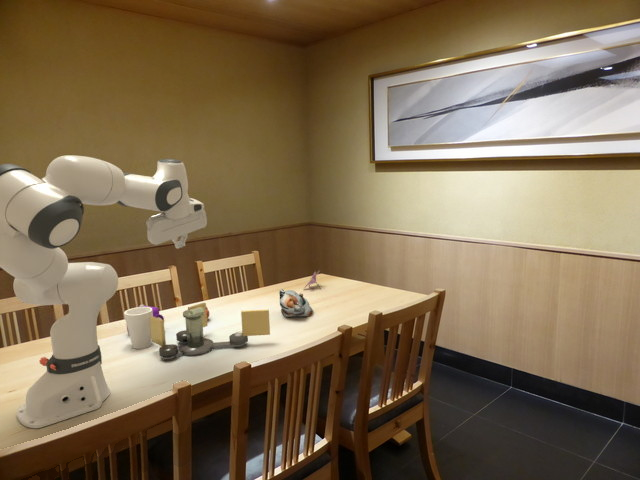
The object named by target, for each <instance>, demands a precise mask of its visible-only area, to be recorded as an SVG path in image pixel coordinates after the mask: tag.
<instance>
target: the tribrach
mask: <svg viewBox="0 0 640 480" xmlns="http://www.w3.org/2000/svg"><path fill="white" fill-rule="evenodd" d="M206 307H207V303H206V302H201V303H198V304H194V305H192V306H188V307H187V309H186V310H184V311H183V312H182V317H183V318H185V328H186V329H185V330H181V331H178V332H176V334H175V336H176V337H175V338H176V341H177V342H178V344H167V341H166V331H165V319H164V320H161V319H159V318H156V317H153V316H152V317H149V318H150V329H151V343H153V344H155V345H158V346H159V349H158V352H159V357H161V359H162V360H163V361H165V362H170V361H173V360H175V359H177V358H180V357H182V356H183V357H184V356H186V357H198V356H202V354H203V355H206V354H208V353H210V352H211V351H213V350H222V349H223V348H224V349H241V348H244V347H245V346H246V343H245V344H241V345H233V344H230V340H229V341H217V342H214V341H213V340H212V339H211V338H206V337H204V328H205V327H208V319H207V312H206ZM212 349H213V350H212ZM224 349H223V350H224ZM209 351H210V352H209ZM205 353H206V354H205Z"/></svg>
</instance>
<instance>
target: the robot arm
mask: <svg viewBox="0 0 640 480" xmlns="http://www.w3.org/2000/svg"><path fill="white" fill-rule="evenodd" d="M156 164H157V166H156V172H155V174H154V175H153V176H149V175H147V176H146V175H139V174H137V173H131V172H123V171H122V169H121V168H120V167H118V166H117V165H115V164H112V163H111V162H108V161H105V160H102V159H99V158H96V157H91V156H85V155H84V156H83V155H73V154H72V155H69V154H68V155H61V156H58V157H56V158H54V159H53V160H52V161H51V162H50V163H49V165H48V166H47V168H46V172H45V176H44V177H42V178H41V179H40V178H39V177H37V176H36V175H34V174H33V173H32V172H31V170H28V169H26V168H25V167H23V166H20V165H17V164H13V163H2V164H0V268H1V269H2V270H3V271H5V272H6V273H7V274H9V275H10V276H12V277H14V280H13V291H14V294H15V297H16V298H17V299H18V300H19V301H20V302H22V303H23V304H30V305H36V306H37V305H38V306H52V305H56V306H57V305H68V313H66V314H65V315H63V316H61V317H60V318H58V319H57V320H55V321H54V323H52V325H51V328H50V332H49V335H50V342H51V343H50V344H51V349H52V355H51V357H50V358H48V357H46V356H44V357H41V358H40V359H39V364H40V365H42V366H44V367H46V371H45V372H44V373H43V374H42V375H41V376H40V377H39V378H38V379H37V380H36V381H35V382H34V383H33V384H32V385H31V386H30V387H29V388H28V389H27V392H26V396H25V405H22V406H20V407H19V408H18V409H17V411H16V419H17V421H19V424H21V425H23V426H25V427H26V428H30V429H40V428H43V427H44V428H45V427H46V426H50V425H53V424H55V423H59V422H62V421H66V420H67V419H68V420H69V419H70V418H74V417H78V416H80V415H83V414H87V413H88V412H92V411H95V410H97V409H98V410H99V408H101V407H102V405H103V402H104V401H105V400H106V399H107V398H108V397H109V395H111V390H110V388H109V386H108V383H107V381H106V378H105V375H104V371H103V367H102V364H103V362H102V361H103V360H102V359H103V357H102V352H101V347H100V345H99V344H98V343H99V342H98V332H97V331H98V330H97V326H98V325H97V321H98V316H99V313H100V311H101V309H102V307H103V306H104V305H105V304H106V302H108V301H109V300H110V299H111V298H112V297H113V296H114V295H115V293H116V292H117V289H118V288H119V276H118V273H117V271H116V270H115V268H114V267H113V266H112V265H111V264H109V263H103V262H95V261H83V262H69V259H68V257H67V254H66V253H65V251H64V250H63V249H61V248H62V247H63V246H64V247H65V246H66V245H68V244H70V242H72V241H73V240H74V239H75V238H76V237H77V235H78V234H79V233H80V229H81V227H82V223H83V216H84V212H85V206H84V205H90V206H101V207H102V206H110V205H115V204H116V203H117V204H118V205H119V206H122V207H128V208H136V209H143V210H150V211H155V212H161V213H158V214H154V215H151V216H150V217H149V218H148V219H147V220H146V223H145V224H146V228H147V241H148V242H150V243H151V244H152V245H154V246H157V245H160V244H164V243H166V242H169V241H172V243H174V247H175V249H177V250H178V249H181V248H183V247H186V241H187V239H188V234H190V233H193V232H196V231H198V230H202V229H205V228H206V227H207V224H208V218H207V213H206V211H205V204H204V203H203V202H201V201H199V200H197V199H195V198H192V197H190V195H189V194H188V189H189V182H188V175H187V170H186V166H185V164H184V162H183V161H181V160H180V159H174V158H173V159H172V158H163V159H159V160H158V161H157V163H156ZM179 237H180V240H179Z"/></svg>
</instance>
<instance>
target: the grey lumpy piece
mask: <svg viewBox="0 0 640 480" xmlns="http://www.w3.org/2000/svg"><path fill="white" fill-rule="evenodd" d="M278 291H279V293H278V294H279V306H280V308H281V309H280V312H281V314H282V315H283V317H285V318H289V317H310V316H311V315H312V313H313V312H314V310H313V308H312V306H310V303H309V301H308V299H306V298H305V297H304V294H303V293H302V292H300V293H297V292H296V291H294V290H290V289H289V290H284V289H283V288H281V289H280V290H278Z"/></svg>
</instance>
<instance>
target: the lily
mask: <svg viewBox="0 0 640 480" xmlns="http://www.w3.org/2000/svg"><path fill="white" fill-rule="evenodd" d="M319 272H320V270H318V271H314V272H313V274H312V275H311V276H310V277H311V278H309V281H308V282H307V284H306V285H305V286H304V288H303V289H302V290H303V291H304V290H305V288H307V286H308V287H310V286H311V285H313V284H316V285H317V286H318V288H319V289H320V290H321V289H322V288H321V287H320V285H319V283H318V282H317V275H318V274H319Z"/></svg>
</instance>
